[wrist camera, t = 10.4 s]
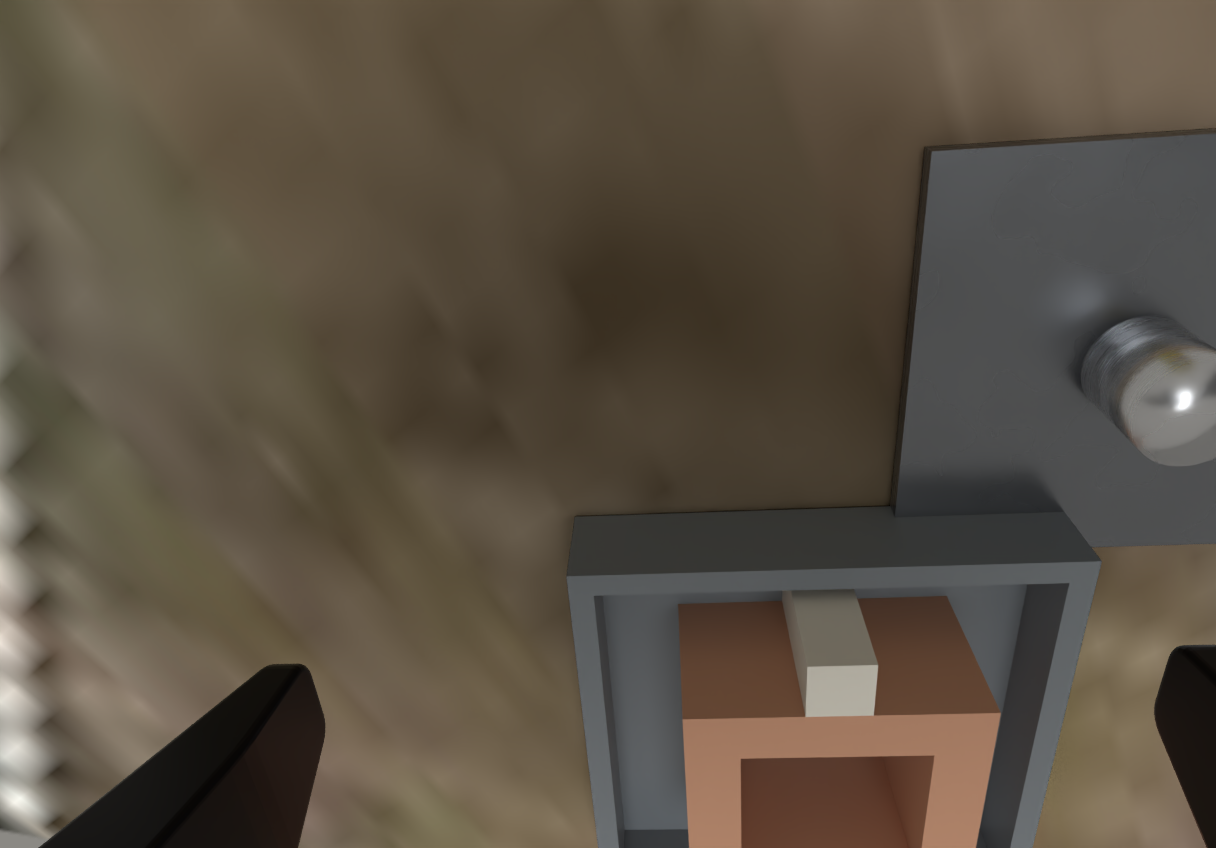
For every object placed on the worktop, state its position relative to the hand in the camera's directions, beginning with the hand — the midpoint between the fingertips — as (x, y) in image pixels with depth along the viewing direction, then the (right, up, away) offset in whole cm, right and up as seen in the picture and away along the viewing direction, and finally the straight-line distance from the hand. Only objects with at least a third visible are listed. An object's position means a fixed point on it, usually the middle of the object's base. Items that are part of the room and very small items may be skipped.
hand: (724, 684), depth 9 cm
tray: (+4, -5, +16) cm, 17 cm away
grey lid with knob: (+11, +4, +11) cm, 16 cm away
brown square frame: (+4, -5, +15) cm, 17 cm away
